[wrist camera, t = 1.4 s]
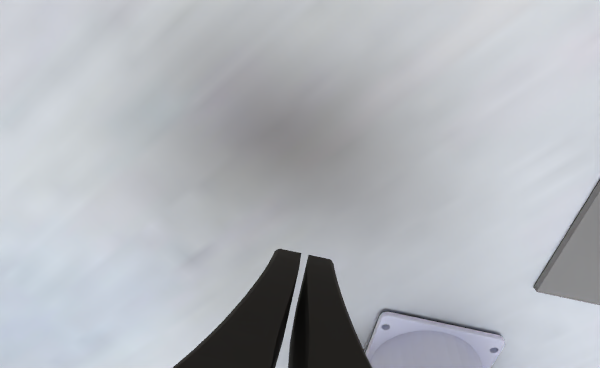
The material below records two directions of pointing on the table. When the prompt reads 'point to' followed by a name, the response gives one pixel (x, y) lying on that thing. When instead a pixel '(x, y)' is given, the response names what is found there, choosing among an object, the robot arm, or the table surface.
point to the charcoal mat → (577, 258)
